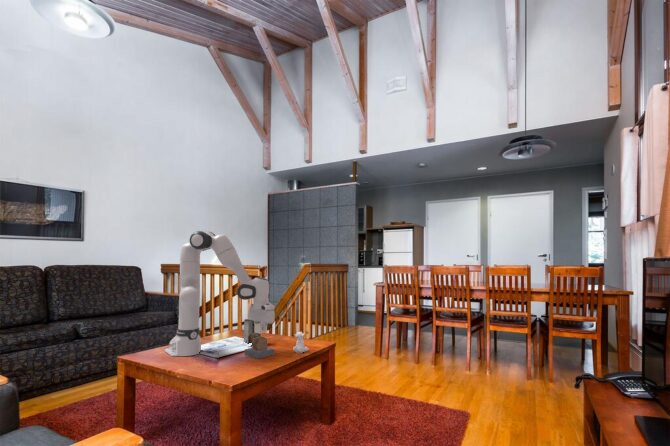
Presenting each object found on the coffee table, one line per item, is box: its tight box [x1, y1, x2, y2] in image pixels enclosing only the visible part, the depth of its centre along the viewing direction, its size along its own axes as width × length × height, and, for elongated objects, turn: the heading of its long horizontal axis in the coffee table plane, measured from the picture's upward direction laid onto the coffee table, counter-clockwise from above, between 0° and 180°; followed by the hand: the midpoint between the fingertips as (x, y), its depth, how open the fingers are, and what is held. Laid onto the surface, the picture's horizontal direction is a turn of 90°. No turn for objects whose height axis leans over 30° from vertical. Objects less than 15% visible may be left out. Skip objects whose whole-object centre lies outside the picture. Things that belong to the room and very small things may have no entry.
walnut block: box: [251, 336, 268, 351], centre depth 216 cm, size 6×6×6 cm
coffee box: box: [243, 318, 262, 344], centre depth 237 cm, size 9×6×16 cm
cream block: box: [254, 322, 268, 335], centre depth 216 cm, size 5×5×5 cm
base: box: [244, 346, 276, 360], centre depth 215 cm, size 12×12×3 cm
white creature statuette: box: [292, 331, 310, 354], centre depth 223 cm, size 10×9×12 cm
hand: (260, 329), depth 216 cm, fingers closed on cream block, 5 cm apart
